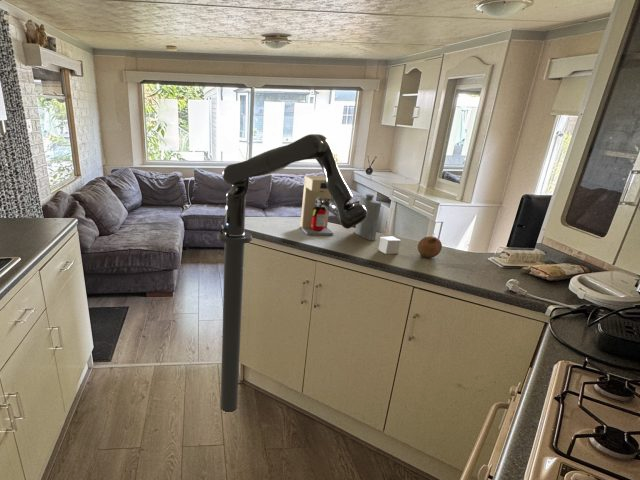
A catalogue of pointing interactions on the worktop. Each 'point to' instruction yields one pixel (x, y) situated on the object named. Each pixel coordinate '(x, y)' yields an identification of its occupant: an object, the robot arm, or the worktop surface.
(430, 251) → the onion
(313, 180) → the coffee maker
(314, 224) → the beverage can
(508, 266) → the worktop surface
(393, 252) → the white cube
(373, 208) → the hip flask
